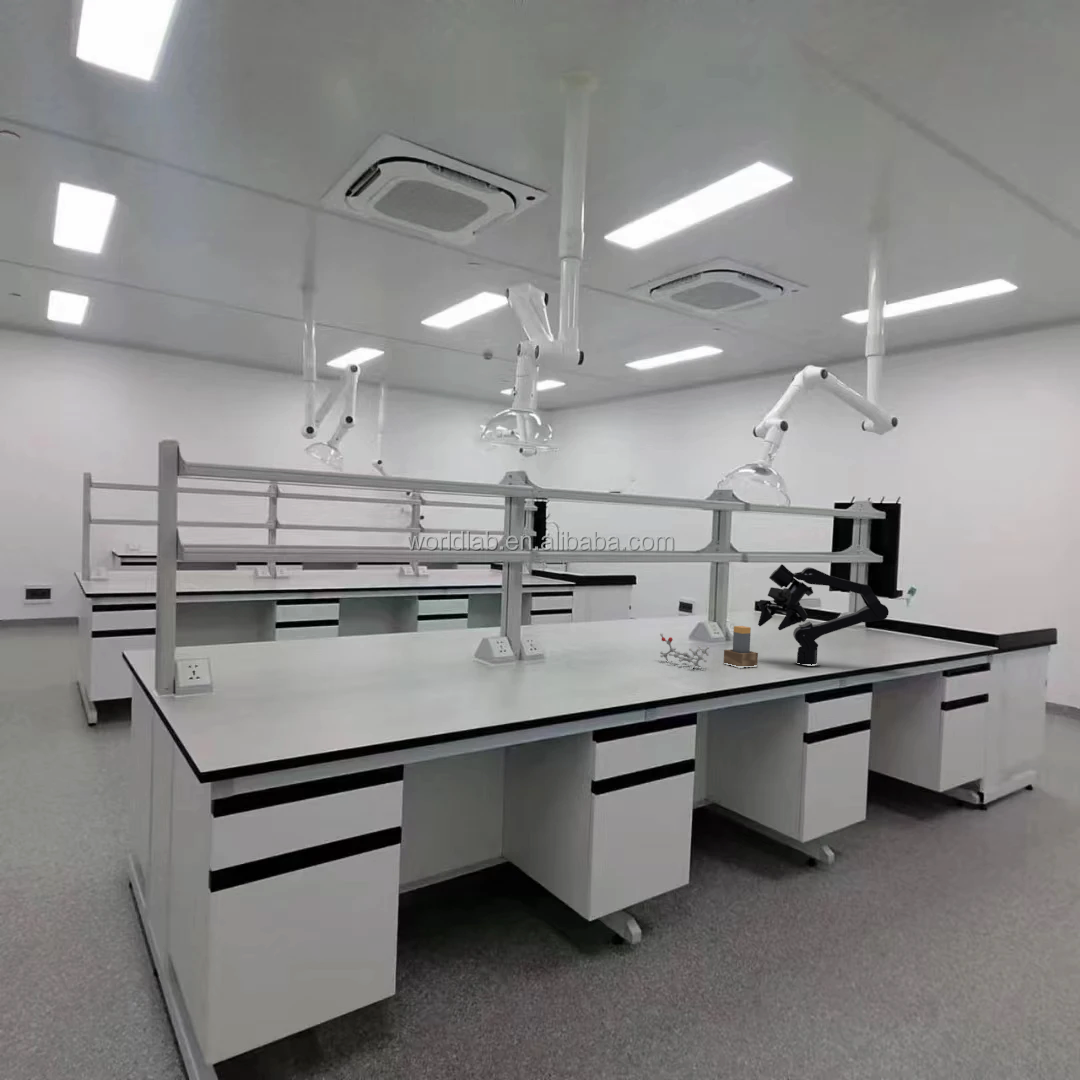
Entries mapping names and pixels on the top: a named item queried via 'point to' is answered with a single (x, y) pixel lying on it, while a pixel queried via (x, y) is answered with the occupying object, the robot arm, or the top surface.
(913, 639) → the top surface
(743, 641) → the grey orange tall block
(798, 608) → the robot arm
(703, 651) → the molecular model
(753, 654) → the open wooden box
